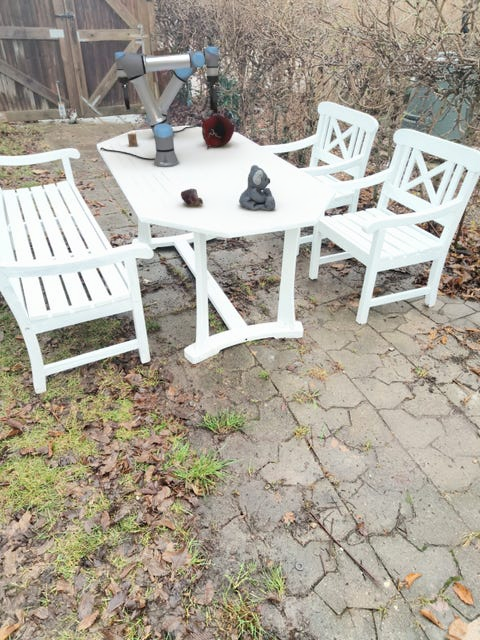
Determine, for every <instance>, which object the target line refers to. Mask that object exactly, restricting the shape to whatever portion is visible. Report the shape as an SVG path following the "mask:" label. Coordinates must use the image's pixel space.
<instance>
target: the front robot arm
mask: <svg viewBox="0 0 480 640" xmlns="http://www.w3.org/2000/svg"><path fill="white" fill-rule="evenodd" d="M218 52H219V51H218V47H217V46H205V49H204V50H187V51H186V53H176V54H165V55H154V56H153V57H145V56H144V55H141V56H138V55H137V54H138V53H135V52H127V53H125V55H124V56H123V58H122V63H121V65H122V69H123V71H124V72H125V73H126V75H127V77H128V80H129V83H132V84H133V86H134V88H135V91H136V93H137V95H138V97H139V99H140V102H141V104H142V106H143V108H144V110H145V113H146V114H147V115H148V117H149V119H150V124H149V127H150V129H151V131H152V134H153V135H154V145H155V155H154V157H153V158H150V157H149V158H148V157H143V156H139V155H137V154H133V153H131V152H127V151H122V150H115V149H106V148H105V147H103V146H102V147H100V149H99V150H103V151H105V152H106V151H107V152H115V153H120V154H126V155H130V156H132V157H136V158H139V159H142V160H146V161H147V160H148V161H154V165H155V166H157V167H163V168H164V167H165V168H167V167H168V168H169V167H174V166H177V165H178V164H179V159H178V157H177V153H176V151H175V143H174V136H173V131H174V130H173V126H172V124H171V125H169V124H168V121H167V119H166V117H164V116H162V114H161V111H160V109H159V107H158V105H157V102H158V101H157V100H156V98H155V96H154V93H153V92H152V89H151V86H150V84H149V82H148V79H147V78H146V76H147V75H148V73H150V72H162V71H171V70H172V71H173V69H182V68H193V67H197V69H199V68H202V67H203V66H205V69H206V70H205V72H206V73H205V74H206V83H207V84H208V83H209V106H210V111H212V114H213V115H218V102H219V100H218V91H217V90H218V89H217V83H219V81H220V78H219V77H220V76H219V71H220V68H219V53H218Z"/></svg>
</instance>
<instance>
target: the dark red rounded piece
mask: <svg viewBox="0 0 480 640" xmlns="http://www.w3.org/2000/svg"><path fill="white" fill-rule="evenodd" d="M200 120H201V135H202V138H203V140H204V143H205V144H206V150H209V149H210V147H217V148H219V147H224V146H226V145H227V144H228V143H229V142H230V141H231V139H232V137H233V135H234V134H235V133H234V132H235V126H234V124H233V122H231V121H230V120H229V119H228V118H227V117H226V116H224V115H220V114H219V115H218V114H214V115H212V116H210V117H208V118H206V119H205V120H204V119H203V118H202V117H200Z"/></svg>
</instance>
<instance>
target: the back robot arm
mask: <svg viewBox="0 0 480 640" xmlns="http://www.w3.org/2000/svg"><path fill="white" fill-rule="evenodd" d="M125 54H126V53H125V52H124V51H117V52H115V53H114V60H115V66H116V73H117V80H118V83H120V84H121V88H122V93H123V100H124V106H125V110H131V106H130V105H131V104H130V97H129V93H128V91H129V89H128V85H127V83H130V81H129V80H128V77H127V75H126V73H125V72H124V71H123V69H122V65H121V63H122V58H123V56H124V55H125ZM136 54H137V55H138V56H141V55H144V56H145V57H153V56H155V55H153V54H145V53H136ZM197 72H198V68H197V67H193V68H182V69H172V76H171V78H170V80H169V81H168V83H167V85H166V87H165V89H164V90H163V92H162V93H161V96H160V97H159V99H158V101H156V102H157V105H158V107H159V109H160V111H161V114H162V116H164V117H166V119H167V121H168V124H169V125H171V126H172V124H171V123H172V122H171V112H170V111H171V109H170V106H171V105H172V103H173V101H174V100H175V98H176V96H177V94H178V93H179V91H180V90H181V88H182V86H183V85H184V84H187V83H188V81H189V80H190V78H191V76H194V75H195V74H196V73H197ZM145 119H146V122H147V123H148V124H149V125H150V119H149V117H148V115H147V113H146V114H145ZM197 126H199V127H201V124H199V123H197V124H195V125H191V126H186V127H185V126H184V128H182V129H180V130H173V137H174V136H175V133H181V132H182V131H185V129H191V128H196V127H197Z"/></svg>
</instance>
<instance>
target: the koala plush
mask: <svg viewBox="0 0 480 640" xmlns="http://www.w3.org/2000/svg"><path fill="white" fill-rule="evenodd" d="M270 183H271V178H269V176H268V175H267V173H266V172H265V170H264V169H263V168H261V167H259V165H257V164H253V165H250V170H249V173H248V176H247V188H246V189H245V190H244V191H243V192H242V193H241V194H240V197H239V199H238V203H239V204H240V206H241V207H242V208H246V209H247V210H252V211H255V210H261V211H272V210H274V209H275V208H276V200H275V198H274V196H273V194H272V191H271V188H270V187H268V186H269V185H270Z"/></svg>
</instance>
